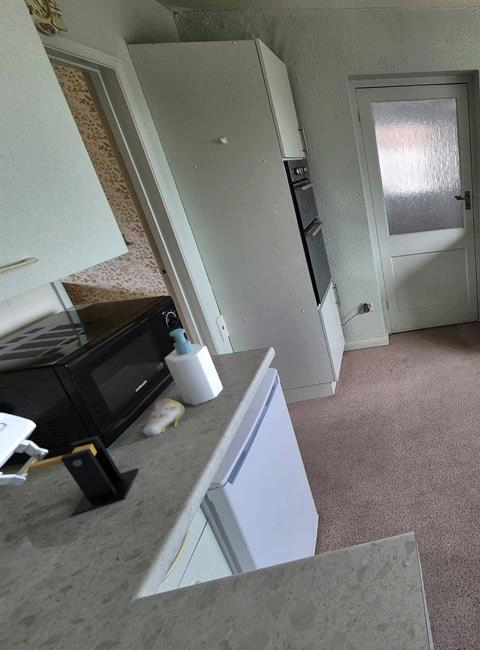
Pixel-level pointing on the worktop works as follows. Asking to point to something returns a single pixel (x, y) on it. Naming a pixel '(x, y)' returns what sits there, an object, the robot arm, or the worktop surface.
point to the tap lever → (50, 460)
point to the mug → (163, 416)
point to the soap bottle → (193, 370)
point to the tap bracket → (97, 476)
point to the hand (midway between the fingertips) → (35, 467)
